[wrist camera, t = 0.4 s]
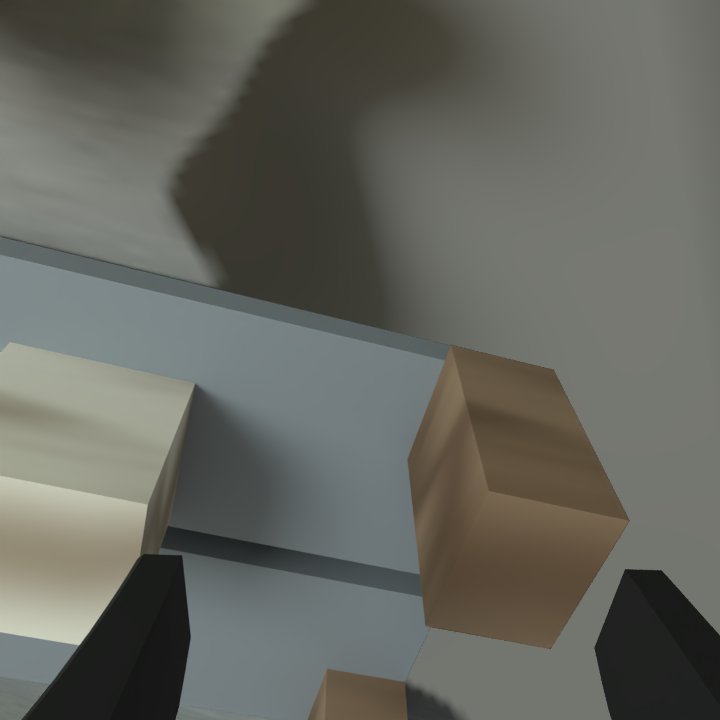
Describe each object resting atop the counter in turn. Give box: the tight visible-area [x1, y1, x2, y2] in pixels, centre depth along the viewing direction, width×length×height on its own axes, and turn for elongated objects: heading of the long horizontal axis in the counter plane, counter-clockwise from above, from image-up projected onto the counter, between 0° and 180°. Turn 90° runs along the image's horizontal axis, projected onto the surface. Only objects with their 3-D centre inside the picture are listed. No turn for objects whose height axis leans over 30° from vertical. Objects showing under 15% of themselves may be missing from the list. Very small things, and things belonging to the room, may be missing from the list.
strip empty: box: [0, 526, 431, 720], centre depth 22 cm, size 8×18×7 cm, turn 75°
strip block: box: [0, 237, 630, 649], centre depth 17 cm, size 8×18×7 cm, turn 75°
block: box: [0, 342, 195, 645], centre depth 18 cm, size 5×5×5 cm
